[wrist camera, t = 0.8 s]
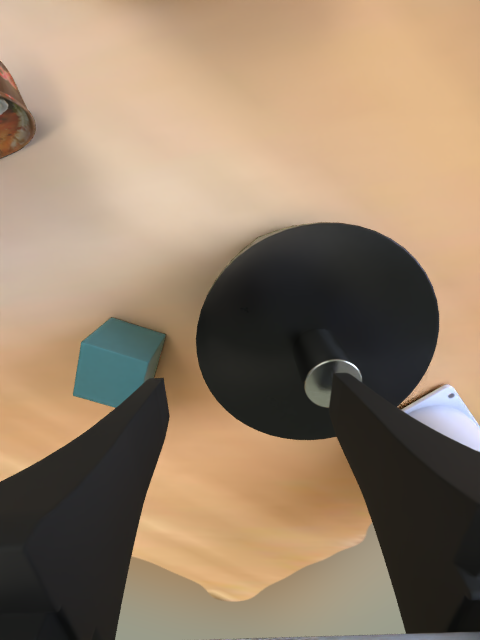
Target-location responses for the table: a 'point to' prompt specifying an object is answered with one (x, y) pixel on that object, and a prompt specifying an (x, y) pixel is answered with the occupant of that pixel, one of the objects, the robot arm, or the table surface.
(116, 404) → the block
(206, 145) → the table surface
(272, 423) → the lid
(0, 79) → the tin
